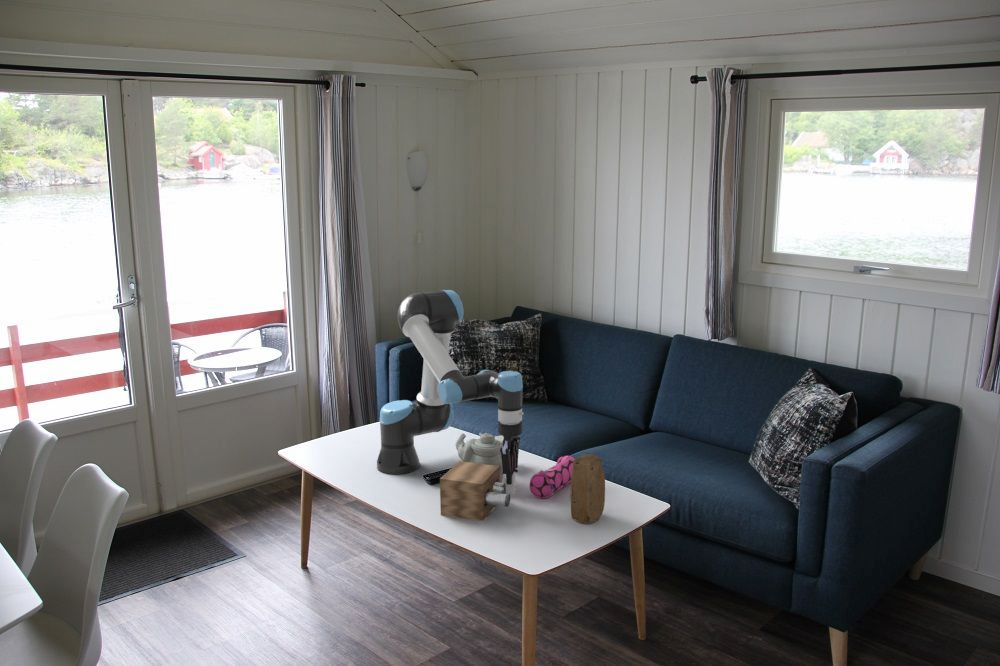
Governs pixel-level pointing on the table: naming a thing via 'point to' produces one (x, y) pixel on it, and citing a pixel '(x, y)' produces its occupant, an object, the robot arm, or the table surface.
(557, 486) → the pencil case
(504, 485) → the far peg
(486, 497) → the near peg
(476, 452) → the teapot
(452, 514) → the walnut block
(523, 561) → the table surface
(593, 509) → the block
